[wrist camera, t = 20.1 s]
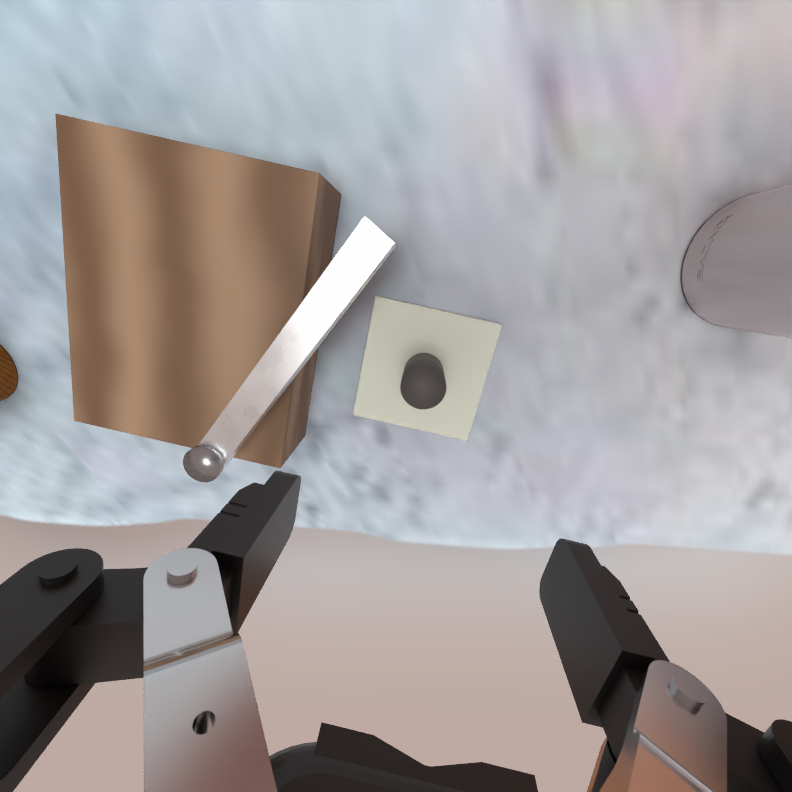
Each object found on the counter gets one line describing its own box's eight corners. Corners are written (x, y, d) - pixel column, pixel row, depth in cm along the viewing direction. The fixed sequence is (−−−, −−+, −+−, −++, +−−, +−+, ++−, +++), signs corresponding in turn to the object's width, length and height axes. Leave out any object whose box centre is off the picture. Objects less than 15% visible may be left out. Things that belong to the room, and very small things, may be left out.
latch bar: (399, 248, 21) (396, 244, 19) (225, 471, 27) (207, 488, 24) (366, 218, 21) (360, 211, 19) (197, 450, 26) (176, 466, 24)
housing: (341, 194, 28) (312, 165, 21) (304, 436, 34) (272, 478, 27) (131, 147, 28) (30, 102, 21) (133, 396, 34) (55, 428, 27)
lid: (498, 322, 30) (515, 333, 24) (465, 434, 33) (473, 466, 28) (377, 295, 30) (366, 299, 25) (355, 408, 33) (341, 436, 28)
